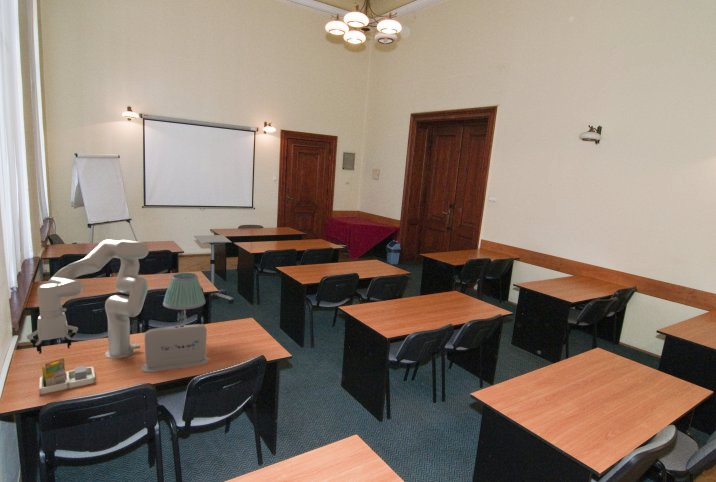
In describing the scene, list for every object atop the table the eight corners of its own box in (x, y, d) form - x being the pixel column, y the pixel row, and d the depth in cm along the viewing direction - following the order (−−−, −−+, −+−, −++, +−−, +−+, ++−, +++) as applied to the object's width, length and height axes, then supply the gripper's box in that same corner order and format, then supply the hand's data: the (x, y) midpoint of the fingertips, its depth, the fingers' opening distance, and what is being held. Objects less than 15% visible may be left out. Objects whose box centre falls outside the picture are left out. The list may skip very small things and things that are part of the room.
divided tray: (93, 372, 185) (93, 366, 184) (95, 384, 176) (95, 377, 175) (40, 383, 173) (39, 376, 172) (39, 396, 164) (39, 389, 163)
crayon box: (62, 380, 175) (61, 355, 173) (65, 382, 174) (64, 357, 172) (43, 387, 169) (41, 362, 167) (46, 389, 167) (44, 364, 166)
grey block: (85, 375, 180) (85, 365, 180) (86, 381, 176) (86, 371, 175) (75, 377, 178) (74, 367, 177) (75, 383, 173) (75, 373, 172)
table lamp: (163, 338, 226) (163, 271, 219) (204, 335, 234) (205, 270, 228) (161, 355, 206) (161, 281, 200) (205, 351, 215) (206, 280, 208)
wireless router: (140, 374, 187) (140, 334, 184) (141, 364, 196) (140, 326, 192) (210, 364, 202) (210, 327, 198) (207, 355, 210) (208, 320, 207)
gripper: (76, 306, 174) (78, 341, 177) (25, 313, 164) (29, 350, 167) (76, 312, 168) (79, 348, 172) (24, 319, 158) (28, 358, 161)
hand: (54, 349), depth 169 cm, fingers open, 9 cm apart
